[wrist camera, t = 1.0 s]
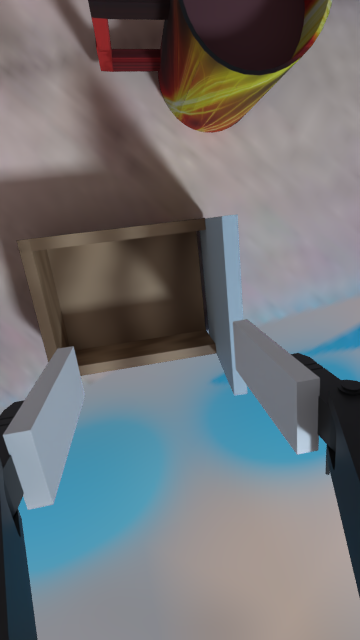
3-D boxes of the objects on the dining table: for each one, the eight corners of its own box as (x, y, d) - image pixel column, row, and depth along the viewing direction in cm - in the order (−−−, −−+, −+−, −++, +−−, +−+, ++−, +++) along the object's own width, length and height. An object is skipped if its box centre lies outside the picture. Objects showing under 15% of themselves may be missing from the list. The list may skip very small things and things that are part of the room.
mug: (97, 67, 28) (71, -45, 16) (232, -12, 28) (302, -181, 16) (151, 172, 31) (161, 139, 19) (273, 102, 31) (356, 27, 19)
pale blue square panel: (237, 214, 20) (221, 216, 20) (247, 393, 24) (234, 395, 24) (208, 218, 32) (198, 219, 32) (217, 335, 36) (209, 336, 36)
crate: (193, 219, 33) (204, 218, 27) (204, 335, 36) (216, 353, 31) (36, 238, 31) (16, 240, 26) (65, 357, 35) (53, 380, 30)
